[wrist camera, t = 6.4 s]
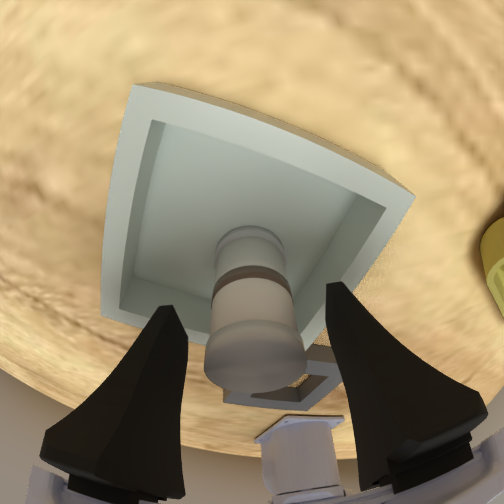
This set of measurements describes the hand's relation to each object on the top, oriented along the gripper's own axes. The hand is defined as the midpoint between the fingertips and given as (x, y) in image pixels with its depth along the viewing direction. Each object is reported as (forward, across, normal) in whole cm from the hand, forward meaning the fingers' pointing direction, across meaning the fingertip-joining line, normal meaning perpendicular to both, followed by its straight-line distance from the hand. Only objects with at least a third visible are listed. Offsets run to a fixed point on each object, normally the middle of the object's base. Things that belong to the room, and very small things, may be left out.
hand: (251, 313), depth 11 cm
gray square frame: (+4, -1, +12) cm, 13 cm away
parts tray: (+4, 0, -1) cm, 5 cm away
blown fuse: (+4, 0, 0) cm, 4 cm away
